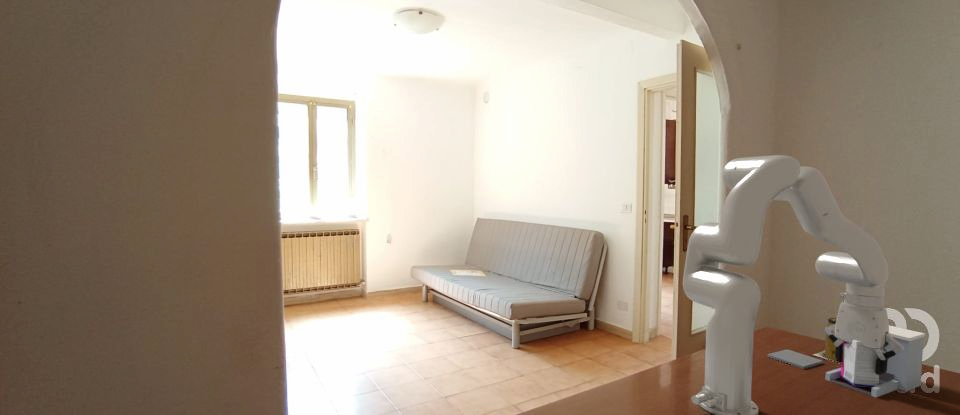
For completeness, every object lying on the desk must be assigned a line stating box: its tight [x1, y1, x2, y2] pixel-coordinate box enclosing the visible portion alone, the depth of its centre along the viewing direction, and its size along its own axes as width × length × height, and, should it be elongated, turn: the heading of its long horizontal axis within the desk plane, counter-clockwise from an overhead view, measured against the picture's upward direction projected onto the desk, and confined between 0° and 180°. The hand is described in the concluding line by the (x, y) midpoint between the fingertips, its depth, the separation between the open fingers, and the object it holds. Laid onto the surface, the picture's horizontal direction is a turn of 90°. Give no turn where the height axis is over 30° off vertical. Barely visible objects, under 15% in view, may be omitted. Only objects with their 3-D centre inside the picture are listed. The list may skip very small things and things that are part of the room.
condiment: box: [812, 317, 837, 363], centre depth 134 cm, size 7×8×12 cm
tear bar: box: [829, 379, 872, 397], centre depth 114 cm, size 1×9×1 cm, turn 26°
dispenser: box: [824, 325, 926, 398], centre depth 118 cm, size 19×14×14 cm
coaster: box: [766, 348, 824, 370], centre depth 132 cm, size 10×10×1 cm
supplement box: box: [840, 340, 880, 389], centre depth 116 cm, size 6×6×12 cm
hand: (859, 367), depth 116 cm, fingers closed on supplement box, 7 cm apart
